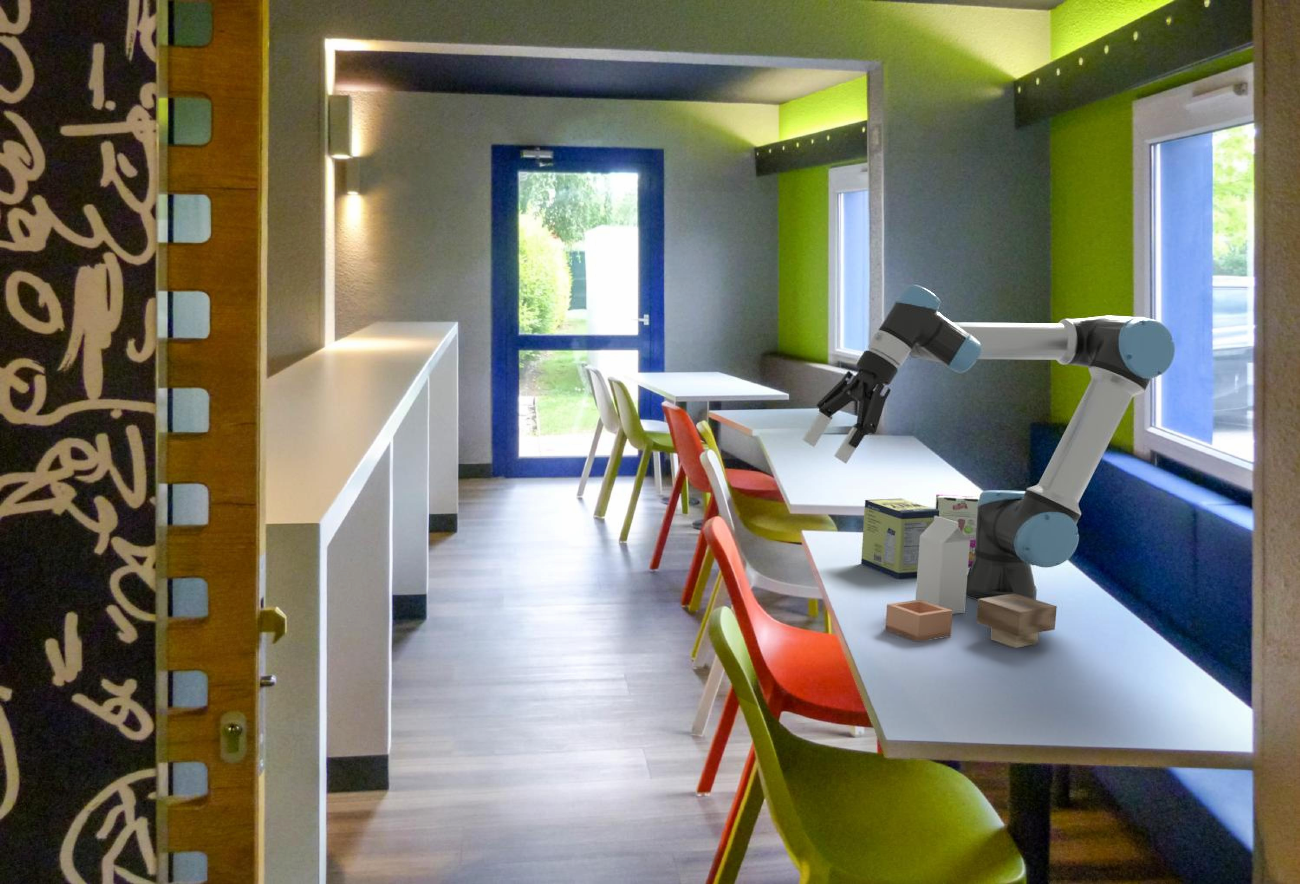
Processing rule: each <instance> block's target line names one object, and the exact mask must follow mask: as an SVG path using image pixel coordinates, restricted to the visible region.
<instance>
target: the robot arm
mask: <svg viewBox="0 0 1300 884" xmlns="http://www.w3.org/2000/svg"><path fill="white" fill-rule="evenodd" d="M940 306H941V299H940V298H939V297H938V296H937V295H935V293H933V292H932V291H930V290H929V289H927V288H925V287H923V286H921V285H918V284H908V285H907V286H906V287H905V288H904V290H903V291H902V292H901V294H900V295H899V296H898V298H897V299H896V300H895V302H894V304H893V306H892V307H891V309H890V310H889V312H888V314H887V316H886V317H885V318H884V320H883V322H882V323H881V325H880V327H879V329H878V330H877V331H876V333H874V334H873V338H872V339H871V341H870V342H869V344H868V345H867V348H868V349H867V350H864V351H863V353H862V354H861V356H860V357H859V359H858V360H857V363H856V367H857V369H858V371H857V373H856V374H854V373H853V372H852V371H850V370H848V371H847V372H846V373H845V374H844V376H843V377H842V379H841V380H840V381H839V382H837V384H836V385H834V386H833V387H832V389H831V390H829V392H827V394H825V395H824V396H823V397H822V398H821V400H820V401H818V402H817V403H816V407H817V408H818V412H819V413H818V414H817V416H816V417H815V419H814V421H813V422H812V424H811V425H810V427H809V429H808V430H807V432H806V433H805V434H804V436H803V438H802V441H804V442H805V443H806V444H808V445H810V446H811V447H813V448H815V446H816V444H817V443H818V441H819V440H820V438H821V437H822V435H823V434H824V432H825V430H826V429H827V428H828V425H830V422H832V419H833V415H836V413H837V412H839V411H840V410H841V409H843V408H844V407H846V406H847V405H849V404H850V403H851V402H856V401H858V402H859V403H858V410H857V418H856V423H855V424H853V426H852V427H851V429H850V430H849V432H848V433H847V435H846V437H845V438H844V439H843V441H842V443H841V444H840V446H839V448H837V451H836V452H835V453H834V455H833V456H834V457H835V458H837V459H838V460H839V461H841V462H842V463H844V464H847V463H848V462H849V460H850V459H851V457H852V455H853V454H854V452H855V450H856V449H857V448H858V446H859V445H860V444H861V442H862V441H863V439H864V438H865V436H866V435H868V434H872V435H875V434H876V432H877V429H878V427H879V424H880V423H879V422H880V420H881V417H882V414H883V411H884V407H885V404H886V403H885V402H886V400H887V398H888V396H889V395H890V393H891V389H890V388H889V387H888V386H889V385H891V383H892V381H893V380H894V378H895V377H896V375H897V373H898V372H899V371H898V370H899V369H898V368H901V367H902V366H903V365H904V362H906V360H907V358H908V356H909V357H911V358H913V359H923V360H928V361H933V362H938V363H940V364H943V365H945V366H946V368H947V369H949V370H950V369H951V371H953V372H955V373H957V374H963V373H966V372H967V371H969V370H970V369H971V368H972V367H973V366H974V365H975V364H976V362H978V360H1033V361H1034V360H1037V361H1038V360H1041V361H1042V360H1043V361H1045V360H1047V361H1048V360H1051V361H1055V360H1056V361H1057V362H1058V363H1059V364H1060V365H1064V366H1065V365H1070V366H1072V365H1073V366H1079V367H1086V368H1088V371H1089V375H1090V377H1091V380H1090V381H1089V383H1088V386H1087V387H1086V390H1085V392H1084V394H1083V396H1082V398H1081V399H1080V402H1079V403H1078V405H1077V407H1076V409H1075V411H1074V412H1073V414H1072V417H1071V419H1070V421H1069V423H1068V425H1067V426H1066V429H1065V430H1064V432H1063V435H1062V437H1061V439H1060V441H1059V443H1058V444H1057V447H1056V448H1055V450H1054V452H1053V454H1052V456H1051V459H1050V460H1049V462H1048V464H1047V466H1046V468H1045V470H1044V472H1043V474H1042V476H1041V477H1040V479H1039V482H1038V483H1037V484H1036V485H1033V486H1030V487H1027V488H1026V490H1003V489H1002V490H1001V489H1000V490H998V489H996V490H994V489H993V490H991V489H989V490H983V491H982V492H980V494H979V496H978V497H979V503H978V506H977V509H978V513H977V527H976V542H975V555H974V560H973V562H972V565H971V567H969V569H968V575H967V588H966V597H969V598H971V599H974V600H977V601H978V599H981V598H988V597H994V596H1001V595H1007V594H1014V593H1015V594H1018V595H1021V596H1025V597H1028V598H1031V599H1035V600H1037V592H1038V590H1037V586H1036V585H1035V580H1034V573H1033V570H1032V566H1036V567H1039V568H1044V569H1045V568H1053V567H1056V566H1059V565H1061V564H1063V563H1065V562H1067V561H1068V560H1069V559H1070V558H1071V557H1072V555H1074V553H1075V552H1076V550H1077V547H1078V544H1079V540H1080V535H1079V532H1078V531H1079V529H1078V526H1077V523H1078V522H1079V519H1080V518H1081V515H1082V511H1081V510H1080V507H1079V503H1080V500H1081V498H1082V496H1083V494H1084V492H1085V490H1086V489H1087V487H1088V485H1089V483H1090V481H1091V479H1092V478H1093V475H1094V473H1095V471H1096V469H1097V467H1098V465H1099V464H1100V462H1101V459H1102V457H1103V456H1104V454H1105V452H1106V450H1107V448H1108V446H1109V443H1111V440H1112V438H1113V436H1114V434H1115V432H1116V430H1117V428H1118V426H1119V425H1120V423H1121V420H1122V419H1123V417H1124V415H1125V413H1126V411H1127V409H1128V407H1129V405H1130V403H1131V401H1132V399H1133V397H1135V396H1139V395H1141V394H1144V393H1145V392H1146V389H1147V387H1148V385H1149V384H1150V382H1151V380H1152V379H1154V378H1157V377H1159V376H1162V375H1163V374H1164V373H1166V372H1167V370H1169V368H1170V367H1171V365H1172V363H1173V360H1174V357H1175V351H1176V350H1175V342H1174V340H1173V336H1172V334H1171V331H1170V330H1169V329H1168V327H1166V326H1165V325H1164V324H1163V323H1162V322H1160V321H1158V320H1157V319H1152V318H1147V317H1146V316H1124V315H1123V316H1122V315H1111V314H1110V315H1101V316H1093V317H1085V318H1084V317H1083V318H1063V319H1061V320H1059V322H1058V323H1044V322H1043V323H1037V322H1035V323H1033V322H1032V323H1031V322H1030V323H1025V322H1022V323H1021V322H957V321H955V322H952V321H951V320H950V319H948V318H946V317H945V316H944V315H943V314H941V312H939V310H940V309H939V308H940Z"/></svg>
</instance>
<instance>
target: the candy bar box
mask: <svg viewBox="0 0 1300 884" xmlns="http://www.w3.org/2000/svg"><path fill="white" fill-rule="evenodd" d="M979 497H980V496H976V495H975V496H972V495H956V494H955V495H953V494H938V493H937V494H936V496H935V509H938V510H939V517H941V518H945V519H948V520H952V521H955V522H958V527H959V528H960V530H961V531H962V533H963V534H964V535H965V536H966V537H967V538H968V539H969V540H970V549H969V562H968V568H970V567H971V565H972V562H973V560H974V555H975V542H976V527H977V513H978V509H977V506H978V503H979Z"/></svg>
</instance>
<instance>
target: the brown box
mask: <svg viewBox="0 0 1300 884" xmlns="http://www.w3.org/2000/svg"><path fill="white" fill-rule="evenodd" d="M1057 608H1058V606H1057V605H1055V604H1051V603H1047V602H1044V601H1040V600H1038V599H1036V600H1035V599H1031V598H1028V597H1025V596H1021V595H1018V594H1015V593H1014V594H1007V595H1001V596H994V597H988V598H981V599H978V600H977V611H976V621H975V622H976V623H978V624H981V625H984V626H987V627H989V628H991V629H992V628H995V629H998V630H1001V631H1004V632H1007V633H1010V634H1013V635H1016V636H1023V635H1028V634H1034V633H1038V634H1039V633H1044V632H1048V631H1049V632H1050V631H1054V630H1056V621H1057V619H1056V617H1057Z"/></svg>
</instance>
